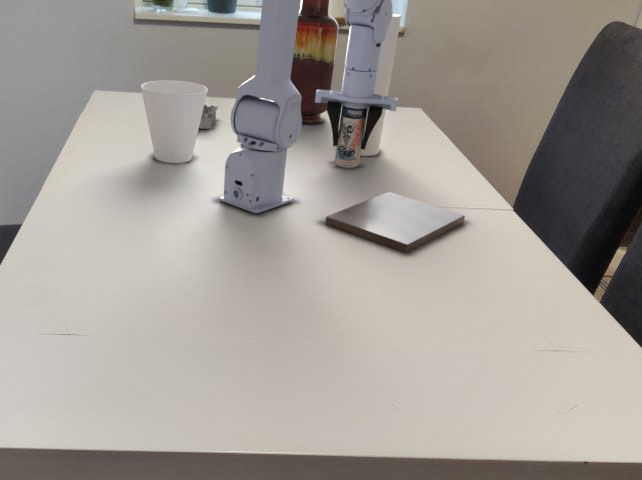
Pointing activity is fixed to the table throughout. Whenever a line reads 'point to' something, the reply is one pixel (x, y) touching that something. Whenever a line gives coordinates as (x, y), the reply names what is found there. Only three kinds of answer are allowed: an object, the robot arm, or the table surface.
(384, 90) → the cylindrical container
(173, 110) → the cup
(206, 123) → the egg carton
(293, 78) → the vase
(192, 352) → the table surface
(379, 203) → the serving board
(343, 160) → the beer can
